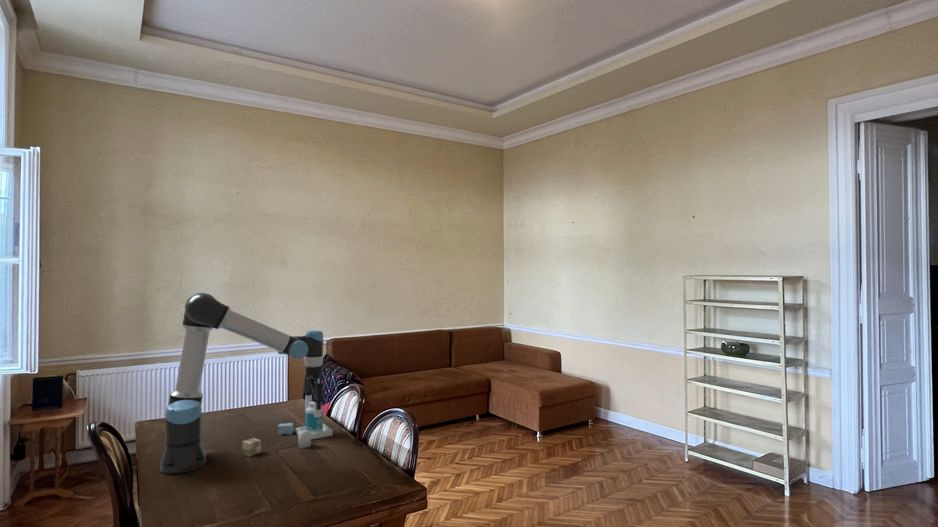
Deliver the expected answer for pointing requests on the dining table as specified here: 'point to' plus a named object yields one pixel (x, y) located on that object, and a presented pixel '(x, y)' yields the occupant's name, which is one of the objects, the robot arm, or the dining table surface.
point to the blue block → (285, 428)
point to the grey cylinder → (304, 438)
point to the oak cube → (251, 447)
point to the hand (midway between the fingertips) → (312, 413)
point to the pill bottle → (313, 419)
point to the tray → (324, 433)
